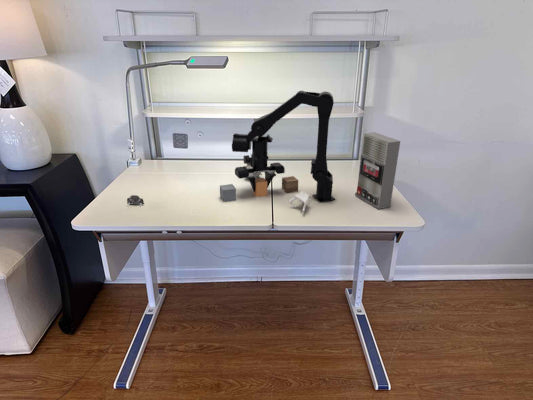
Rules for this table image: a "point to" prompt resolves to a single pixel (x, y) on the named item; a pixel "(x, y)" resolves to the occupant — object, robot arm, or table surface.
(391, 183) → the cassette tape recorder
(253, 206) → the table surface
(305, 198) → the origami figure
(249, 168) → the grey spiky ball
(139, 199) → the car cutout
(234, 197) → the charcoal grey block
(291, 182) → the walnut block
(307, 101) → the robot arm
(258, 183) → the rust orange block
